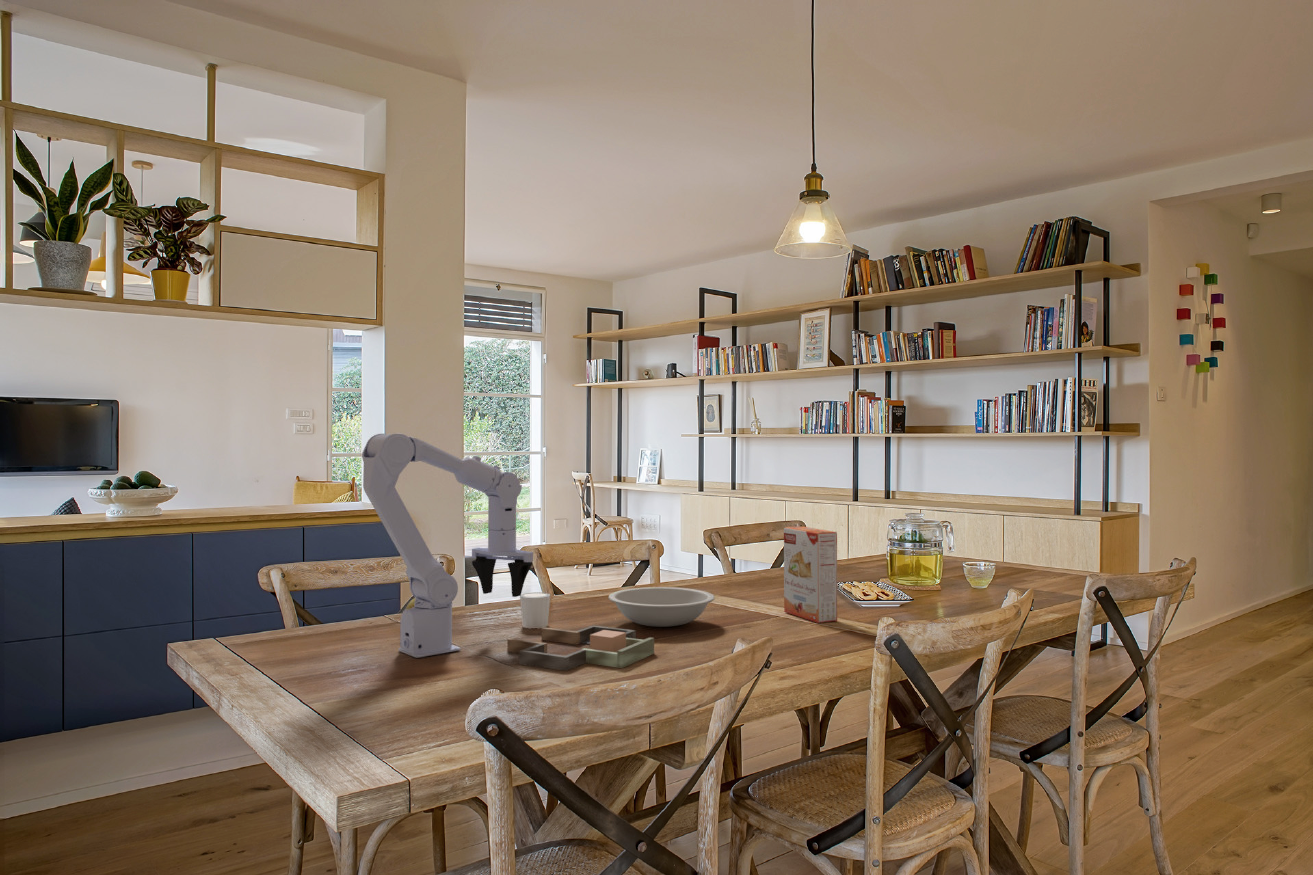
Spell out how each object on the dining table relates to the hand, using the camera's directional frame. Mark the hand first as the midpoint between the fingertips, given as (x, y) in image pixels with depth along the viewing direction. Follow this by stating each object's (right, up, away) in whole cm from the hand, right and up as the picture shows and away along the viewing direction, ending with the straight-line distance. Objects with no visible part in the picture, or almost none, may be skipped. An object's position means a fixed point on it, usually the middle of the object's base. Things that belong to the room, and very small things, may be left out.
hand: (501, 594), depth 176 cm
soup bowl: (+33, -10, +15) cm, 38 cm away
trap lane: (+17, -9, -11) cm, 22 cm away
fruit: (-18, -10, +7) cm, 22 cm away
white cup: (+5, -10, +14) cm, 18 cm away
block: (+23, -9, -14) cm, 28 cm away
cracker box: (+69, -10, +24) cm, 73 cm away
